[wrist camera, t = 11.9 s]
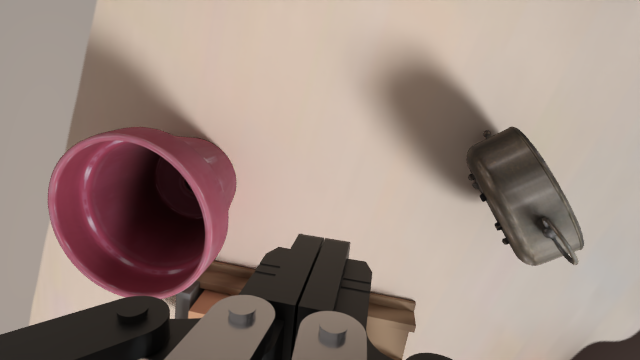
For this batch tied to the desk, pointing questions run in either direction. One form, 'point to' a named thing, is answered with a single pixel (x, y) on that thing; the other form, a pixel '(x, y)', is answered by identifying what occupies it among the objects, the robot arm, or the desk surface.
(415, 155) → the desk surface
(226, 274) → the walnut chute
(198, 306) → the terracotta block
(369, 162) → the desk surface
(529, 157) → the alarm clock
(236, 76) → the desk surface
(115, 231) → the plant pot
